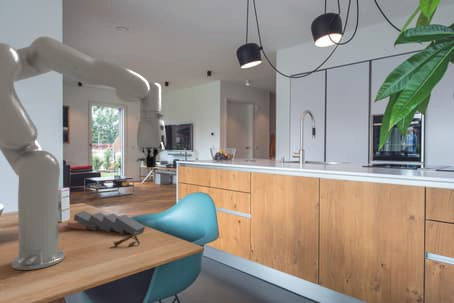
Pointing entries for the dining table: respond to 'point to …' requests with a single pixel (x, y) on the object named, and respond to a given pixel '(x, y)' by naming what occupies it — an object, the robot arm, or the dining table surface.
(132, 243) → the wooden post with brackets
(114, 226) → the domino
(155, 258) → the dining table surface
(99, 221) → the domino
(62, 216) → the syrup box
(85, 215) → the domino
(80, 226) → the domino
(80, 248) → the dining table surface
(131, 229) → the domino
